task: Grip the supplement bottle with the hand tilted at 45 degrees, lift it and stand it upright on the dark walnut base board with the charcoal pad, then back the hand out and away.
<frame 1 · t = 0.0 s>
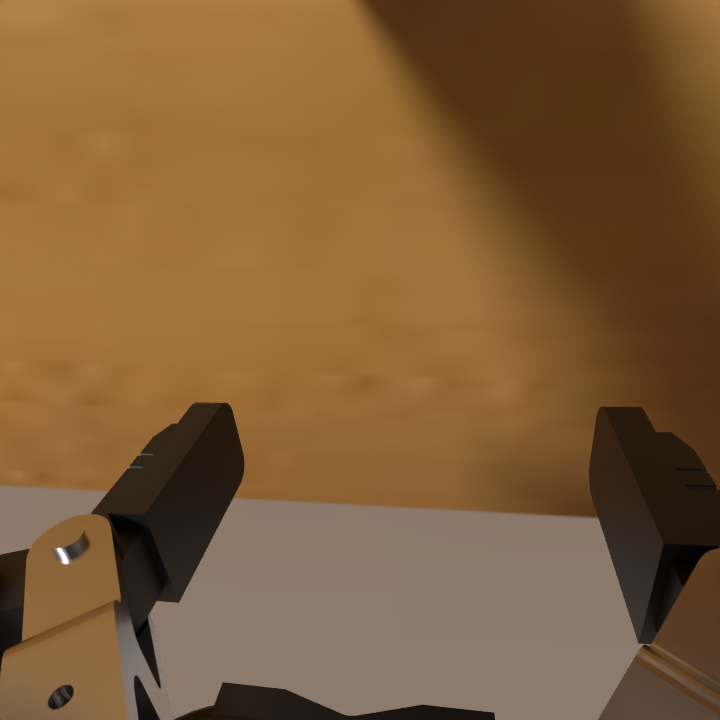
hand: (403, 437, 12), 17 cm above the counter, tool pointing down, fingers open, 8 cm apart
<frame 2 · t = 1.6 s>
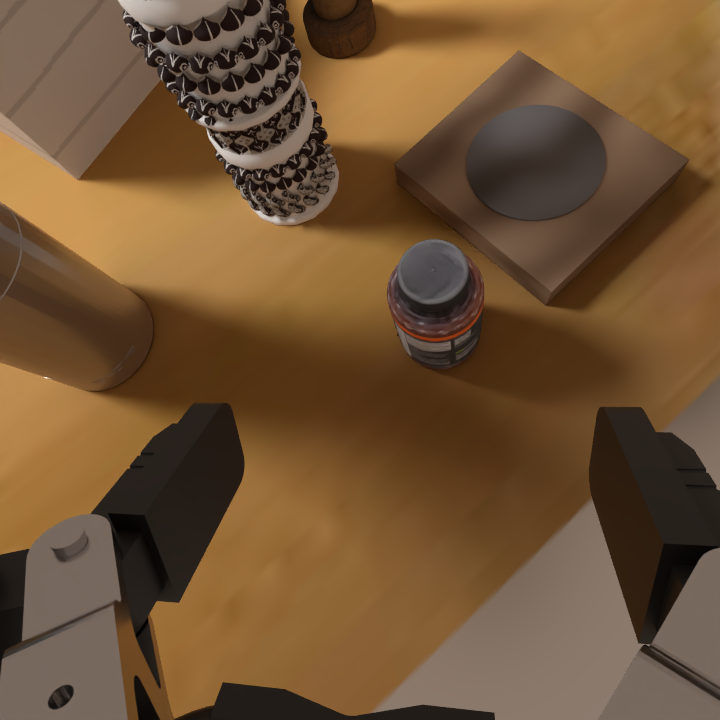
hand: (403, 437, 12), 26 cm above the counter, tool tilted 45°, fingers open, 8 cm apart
pizza boxes: (110, 55, 54), on the counter
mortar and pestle: (342, 32, 50), on the counter
supplement bottle: (439, 335, 40), on the counter
base board: (529, 181, 42), on the counter
decorative candle: (293, 184, 46), on the counter
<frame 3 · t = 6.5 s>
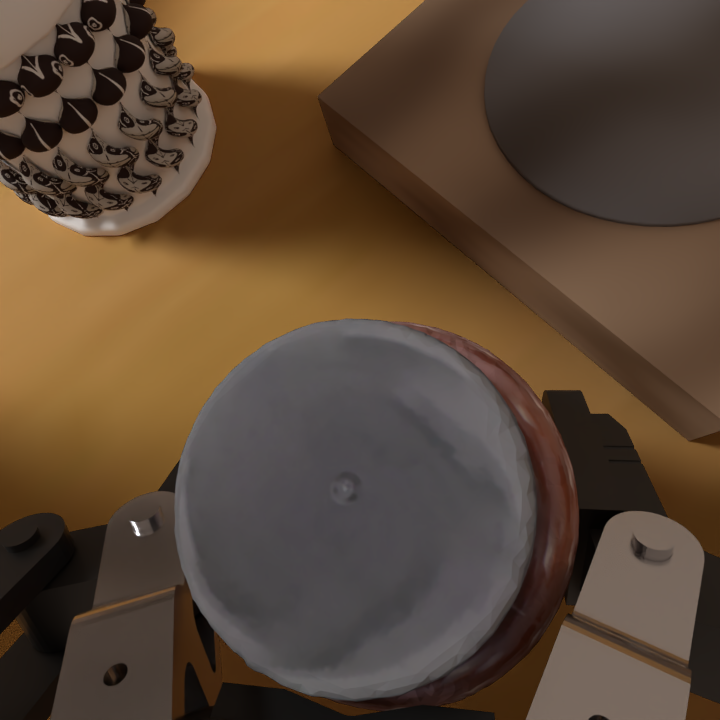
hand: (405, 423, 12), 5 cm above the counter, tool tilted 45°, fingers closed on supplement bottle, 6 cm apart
supplement bottle: (420, 504, 16), on the counter, touching gripper
base board: (627, 136, 18), on the counter
decorative candle: (127, 151, 23), on the counter
when the fingers open (9 cm above the counter, at t = 13.2 s): supplement bottle drops 1 cm, resting on base board.
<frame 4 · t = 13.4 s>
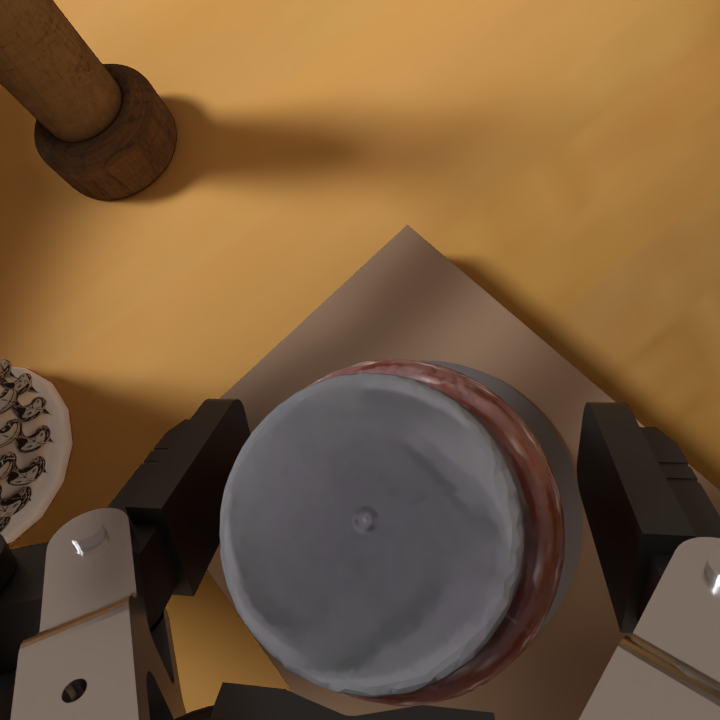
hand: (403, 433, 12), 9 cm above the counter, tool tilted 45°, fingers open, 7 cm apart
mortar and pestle: (123, 149, 28), on the counter
supplement bottle: (423, 512, 17), point 3 cm above the counter, touching base board
base board: (426, 506, 20), on the counter
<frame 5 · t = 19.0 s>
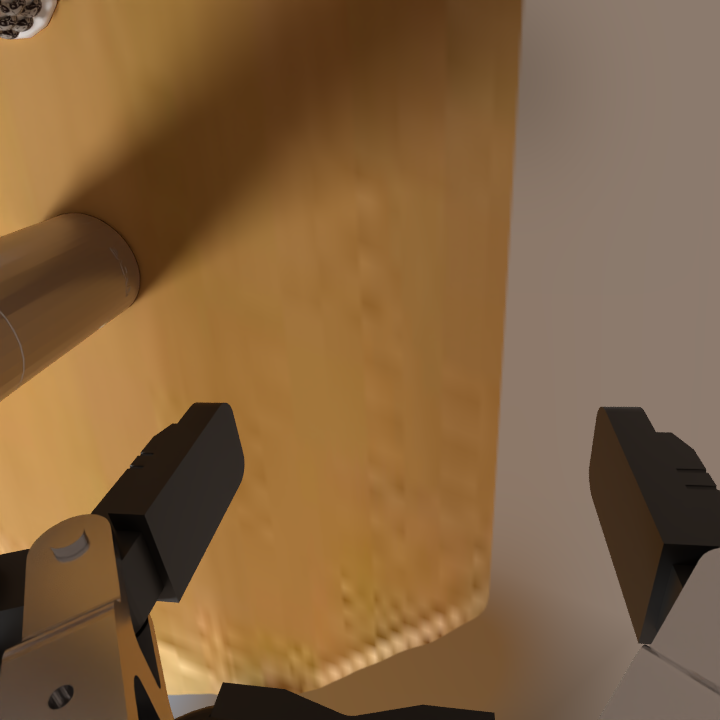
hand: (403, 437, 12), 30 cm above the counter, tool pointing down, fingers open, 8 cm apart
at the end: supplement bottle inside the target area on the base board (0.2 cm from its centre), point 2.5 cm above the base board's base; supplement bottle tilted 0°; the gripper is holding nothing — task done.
